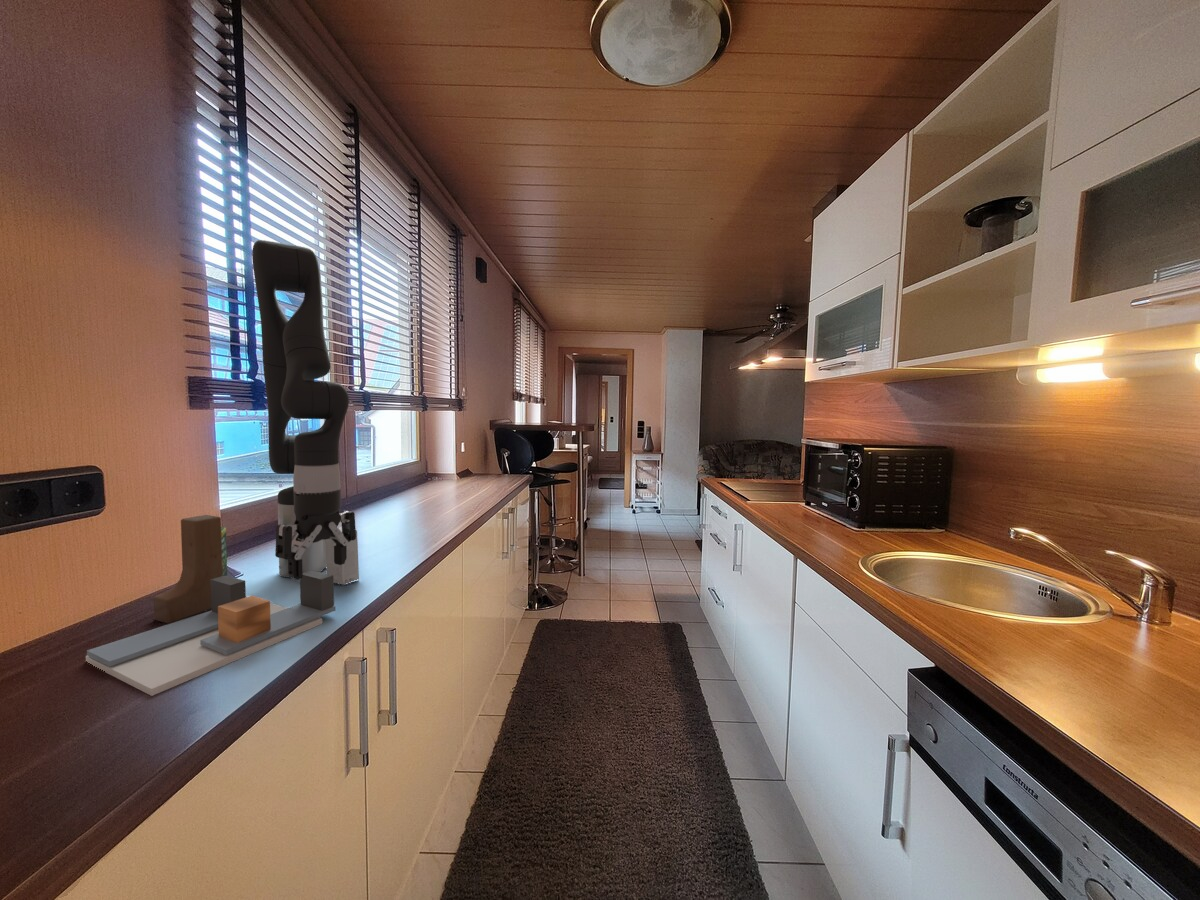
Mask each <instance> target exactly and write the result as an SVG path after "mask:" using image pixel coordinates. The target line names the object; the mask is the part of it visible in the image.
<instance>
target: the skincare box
mask: <svg viewBox="0 0 1200 900" xmlns="http://www.w3.org/2000/svg"><path fill="white" fill-rule="evenodd" d="M337 528H338V529H339V530H340V531H341V532H342V526H340V527H337ZM334 545H336V544H335V543H334V542H333V541H332V540H331V539H326V540H325V549H326V567H327V568H326V574H330V575H333V582H334V583H333V584H336V583H339V584H338V585H340V584H346V583H349V582H351V581H354V580H357V579H359V580H360V571H359V569H360V568H359V546H358V545H359V544H358V530H357V529H356V539H355V540H351V541H350V542H349V543H348V544H347V558H346V561H345V563H344V564H342V565H338V564H335V563H334Z"/></svg>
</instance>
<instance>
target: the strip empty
mask: <svg viewBox="0 0 1200 900" xmlns="http://www.w3.org/2000/svg"><path fill="white" fill-rule="evenodd" d="M246 588H247V587H246V580H244V579H241V578H238V577H237V578H236V577H233V576H229V575H227V576H222V577H218V578H214V579H211V610H208V611H205V612H202V613H199V614H196V615H193V616H190V617H187V618H184V619H181V620H178V621H175V622H172V623H169V624H165V625H162V626H158V627H155V628H153V629H149V630H146V631H142V632H140V633H137V634H134V635H130V636H128V637H124V638H121V639H118V640H115V641H112V642H108V643H107V644H103V645H100V646H97V647H94V648H91V649H87V650H86V656H89V657H91V658H93V659H95V660H97V661H99V662H101V663H103V664H105V665H107V666H109V667H111V666H113V665H116V664H119V663H122V662H125V661H127V660H130V659H133V658H136V657H139V656H142V655H144V654H147V653H150V652H153V651H156V650H158V649H161V648H164V647H167V646H170V645H172V644H175V643H178V642H181V641H184V640H187V639H189V638H192V637H195V636H198V635H201V634H203V633H206V632H209V631H212V630H215V629H218V606H220V605H224V604H227V603H230V602H233V601H236V600H239V599H243V598H246V597H247V593H246V592H247V591H246Z"/></svg>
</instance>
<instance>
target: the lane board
mask: <svg viewBox="0 0 1200 900" xmlns="http://www.w3.org/2000/svg"><path fill="white" fill-rule="evenodd" d="M287 608H288V607H285V606H282V605H278V604H276V603H272V602H270V615H271V614H273V613H276V612H279V611H282V610H284V609H287ZM322 624H323V618H322V617H319V618H316V619H314V620H311V621H309V622H306V623H304V624H301V625H299V626H297V627H294V628H292V629H289V630H287V631H284V632H282V633H279V634H277V635H275V636H272V637H270V638H267V639H265V640H262V641H260V642H257V643H255V644H252V645H250V646H248V647H245V648H243V649H240V650H238V651H235V652H233V653H230V654H228V655H225V654H222V653H220V652H217V651H215V650H212V649H209V648H207V647H204V646H202V645H200V640H202V639H205V638H208V637H210V636H213V635H216V634H219V630H218V629H215V630H212V631H209V632H206V633H203V634H201V635H198V636H195V637H192V638H189V639H187V640H184V641H181V642H178V643H175V644H172V645H170V646H167V647H164V648H161V649H158V650H156V651H153V652H150V653H147V654H144V655H142V656H139V657H136V658H133V659H130V660H127V661H125V662H122V663H119V664H116V665H113V666H111V667H109V666H107V665H105V664H103V663H101V662H99V661H97V660H95V659H93V658H91V657H89V656H87V655H85V662H86V661H87V662H88V663H90V664H92V665H93V667H94V666H95V668H96V667H97V668H96V669H98V668H99V669H98V670H100V669H101V670H100V671H102V670H103V671H102V672H104V671H105V672H104V673H106V674H108V675H110V676H112V677H113V678H116V679H117V680H119V681H122V682H124V683H126V684H128V685H130V686H132V687H133V688H135V689H138V690H139V691H142V692H143V693H145V694H147V695H150V696H151V697H153V696H155V695H158V694H160V693H162V692H164V691H167V690H169V689H172V688H174V687H176V686H179V685H181V684H183V683H185V682H188V681H190V680H192V679H195V678H197V677H200V676H202V675H204V674H207V673H209V672H212V671H214V670H216V669H219V668H221V667H223V666H226V665H227V664H228V665H229V664H230V663H232V662H235V661H237V660H240V659H242V658H244V657H247V656H249V655H252V654H254V653H257V652H259V651H260V650H263V649H265V648H268V647H270V646H273V645H275V644H277V643H279V642H282V641H284V640H287V639H289V638H292V637H294V636H296V635H299V634H302V633H304V632H305V631H308V630H310V629H313V628H315V627H318V626H321V625H322ZM88 663H87V664H88ZM90 664H89V665H90ZM92 665H91V666H92Z"/></svg>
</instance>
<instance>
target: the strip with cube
mask: <svg viewBox="0 0 1200 900" xmlns="http://www.w3.org/2000/svg"><path fill="white" fill-rule="evenodd" d="M299 585H300V587H299V591H300V593H299V595H300V598H299V599H300V603H299V604H295V605H293V606H290V607H286V608H287V609H284V610H282V611H279V612H276V613H273V614H271V615H270V622H271V630H269V631H266V632H263V633H261V634H258V635H256V636H253V637H251V638H248V639H246V640H243V641H241V642H238V643H236V642H233V641H231V640H228V639H225V638H223V637H220V636H219V634H216V635H213V636H210V637H208V638H205V639H202V640H200V645H202V646H204V647H207V648H209V649H212V650H215V651H217V652H220V653H222V654H225V655H228V654H230V653H233V652H235V651H238V650H240V649H243V648H245V647H248V646H250V645H252V644H255V643H257V642H260V641H262V640H265V639H267V638H270V637H272V636H275V635H277V634H279V633H282V632H284V631H287V630H289V629H292V628H294V627H297V626H299V625H301V624H304V623H306V622H309V621H311V620H314V619H316V618H322V617H323V616H326V615H328V614H330V613H333V612H335V611H336V609H337V608H336V605H335V601H334V598H335V597H334V591H335V590H334V587H335V586H334V583H333V575H330V574H327V573H325V572H322V571H321V572H317V571H313V570H312V571H309V572H305V573H303V577H302V578H301V579H299Z"/></svg>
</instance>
